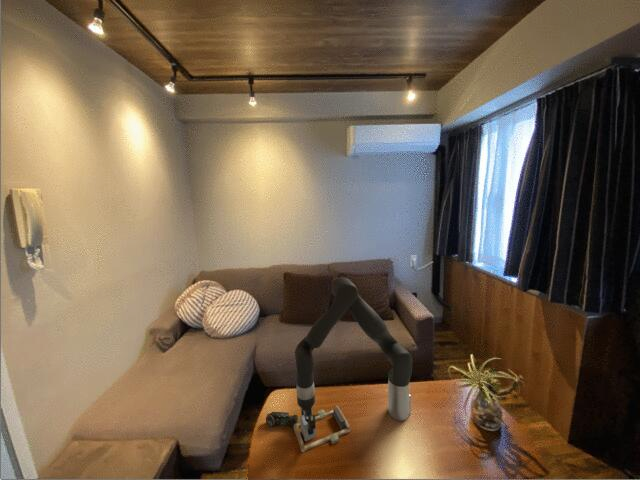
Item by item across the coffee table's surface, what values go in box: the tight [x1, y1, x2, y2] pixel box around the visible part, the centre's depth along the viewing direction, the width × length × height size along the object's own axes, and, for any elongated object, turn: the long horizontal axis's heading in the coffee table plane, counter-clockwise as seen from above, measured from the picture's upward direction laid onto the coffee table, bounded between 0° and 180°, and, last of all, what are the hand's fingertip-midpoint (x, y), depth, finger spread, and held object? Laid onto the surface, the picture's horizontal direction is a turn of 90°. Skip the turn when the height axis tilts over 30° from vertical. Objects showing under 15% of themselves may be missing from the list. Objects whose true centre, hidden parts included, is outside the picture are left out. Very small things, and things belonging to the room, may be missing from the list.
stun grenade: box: [265, 411, 299, 432], centre depth 114 cm, size 6×6×14 cm
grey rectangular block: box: [299, 414, 317, 442], centre depth 109 cm, size 5×5×8 cm
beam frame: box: [293, 405, 351, 453], centre depth 111 cm, size 22×16×4 cm
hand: (307, 425), depth 109 cm, fingers open, 8 cm apart
